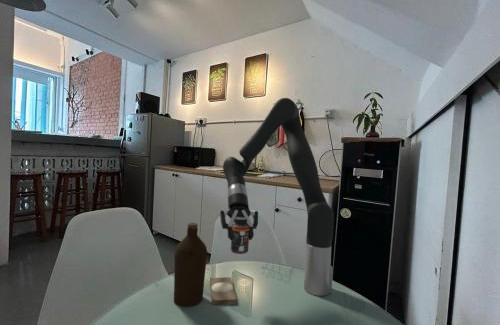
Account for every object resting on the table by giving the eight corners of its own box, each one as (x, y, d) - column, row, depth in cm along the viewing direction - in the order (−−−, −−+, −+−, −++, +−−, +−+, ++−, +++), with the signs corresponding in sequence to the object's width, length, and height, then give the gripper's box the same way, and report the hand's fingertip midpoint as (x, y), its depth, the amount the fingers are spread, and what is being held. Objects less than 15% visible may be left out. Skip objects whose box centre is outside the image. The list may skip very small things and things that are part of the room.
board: (230, 281, 95) (230, 276, 95) (236, 303, 80) (236, 298, 80) (209, 281, 94) (210, 277, 94) (211, 305, 78) (212, 300, 78)
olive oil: (210, 301, 80) (214, 225, 81) (180, 312, 73) (185, 229, 74) (194, 288, 88) (198, 219, 89) (166, 297, 81) (170, 222, 82)
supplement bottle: (246, 255, 79) (247, 220, 79) (228, 253, 80) (230, 219, 80) (249, 249, 85) (251, 217, 85) (233, 247, 86) (234, 215, 86)
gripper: (219, 191, 89) (220, 233, 77) (258, 192, 92) (264, 233, 80) (217, 203, 94) (218, 244, 82) (254, 204, 97) (259, 244, 85)
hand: (241, 238), depth 81 cm, fingers closed on supplement bottle, 6 cm apart
